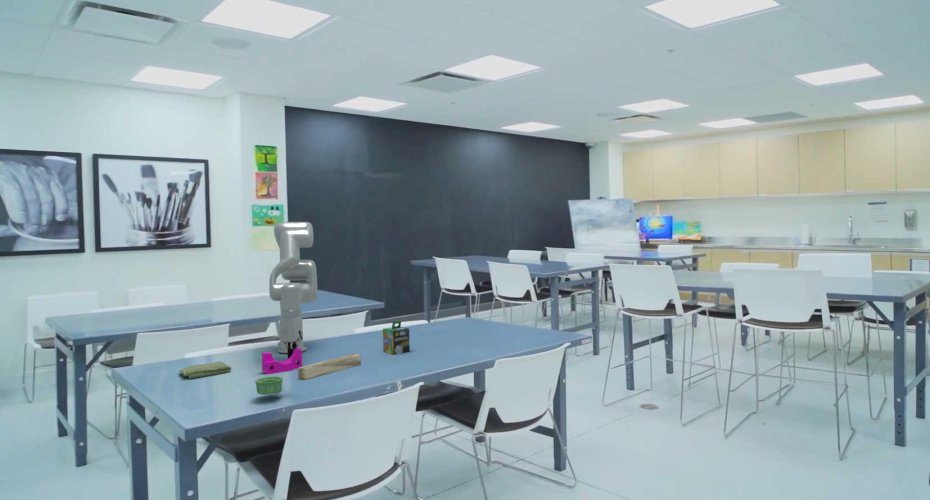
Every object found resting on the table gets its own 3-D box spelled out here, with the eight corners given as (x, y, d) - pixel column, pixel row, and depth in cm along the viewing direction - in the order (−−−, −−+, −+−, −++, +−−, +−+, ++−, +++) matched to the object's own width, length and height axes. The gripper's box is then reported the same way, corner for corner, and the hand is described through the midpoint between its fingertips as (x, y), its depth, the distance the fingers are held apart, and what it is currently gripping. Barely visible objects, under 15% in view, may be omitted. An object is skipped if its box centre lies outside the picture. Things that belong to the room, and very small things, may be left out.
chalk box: (399, 350, 267) (398, 319, 267) (410, 353, 260) (409, 320, 260) (382, 353, 261) (381, 321, 261) (393, 356, 254) (392, 322, 254)
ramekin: (266, 388, 202) (266, 375, 202) (288, 389, 199) (288, 376, 199) (249, 394, 193) (249, 381, 193) (272, 396, 190) (272, 382, 190)
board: (298, 378, 215) (297, 367, 214) (353, 363, 240) (353, 353, 240) (305, 379, 212) (305, 369, 212) (360, 364, 238) (360, 354, 238)
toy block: (266, 374, 223) (266, 355, 223) (262, 371, 228) (261, 352, 228) (304, 368, 232) (303, 350, 232) (298, 366, 237) (298, 348, 237)
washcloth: (177, 374, 229) (177, 366, 229) (223, 367, 240) (223, 360, 240) (184, 380, 218) (184, 371, 218) (232, 372, 229) (232, 364, 229)
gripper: (271, 314, 239) (272, 358, 239) (296, 316, 231) (297, 361, 231) (286, 312, 245) (287, 354, 245) (310, 313, 237) (311, 357, 237)
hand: (292, 357), depth 238 cm, fingers closed
